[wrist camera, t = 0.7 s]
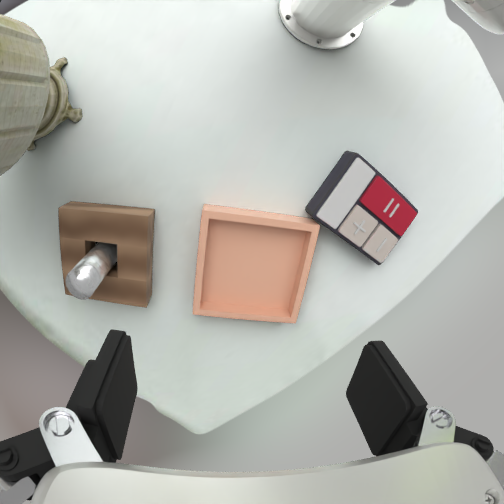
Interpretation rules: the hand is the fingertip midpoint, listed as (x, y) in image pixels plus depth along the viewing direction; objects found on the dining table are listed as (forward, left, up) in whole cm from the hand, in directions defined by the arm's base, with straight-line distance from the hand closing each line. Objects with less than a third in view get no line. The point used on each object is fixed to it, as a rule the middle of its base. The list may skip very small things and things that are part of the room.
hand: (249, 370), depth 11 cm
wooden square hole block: (+10, -18, -34) cm, 39 cm away
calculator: (-1, +20, -34) cm, 40 cm away
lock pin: (+10, -18, -34) cm, 39 cm away
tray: (+10, +4, -34) cm, 35 cm away
